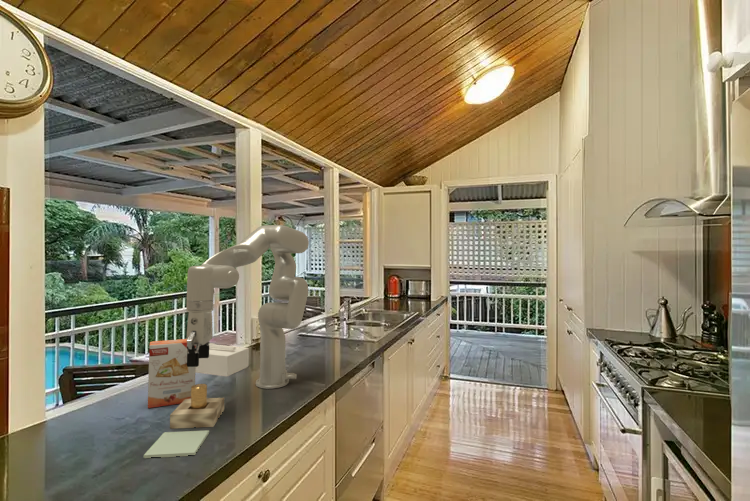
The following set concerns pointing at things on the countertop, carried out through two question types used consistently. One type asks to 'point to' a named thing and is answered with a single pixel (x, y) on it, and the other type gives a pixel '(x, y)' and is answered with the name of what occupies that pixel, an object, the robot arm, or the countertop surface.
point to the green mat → (177, 444)
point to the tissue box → (223, 360)
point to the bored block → (197, 414)
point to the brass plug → (199, 396)
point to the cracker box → (169, 373)
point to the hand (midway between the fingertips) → (198, 362)
